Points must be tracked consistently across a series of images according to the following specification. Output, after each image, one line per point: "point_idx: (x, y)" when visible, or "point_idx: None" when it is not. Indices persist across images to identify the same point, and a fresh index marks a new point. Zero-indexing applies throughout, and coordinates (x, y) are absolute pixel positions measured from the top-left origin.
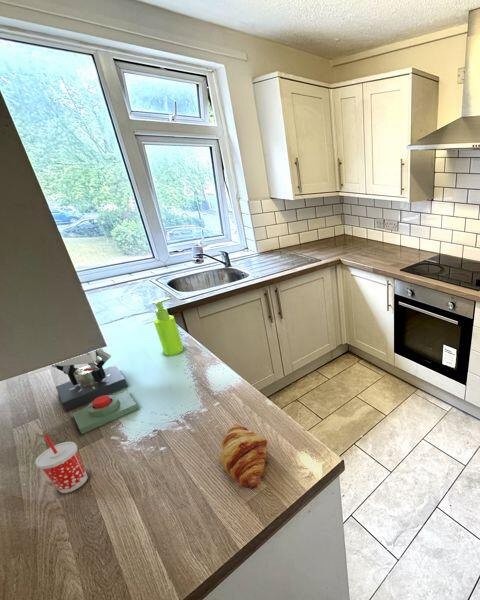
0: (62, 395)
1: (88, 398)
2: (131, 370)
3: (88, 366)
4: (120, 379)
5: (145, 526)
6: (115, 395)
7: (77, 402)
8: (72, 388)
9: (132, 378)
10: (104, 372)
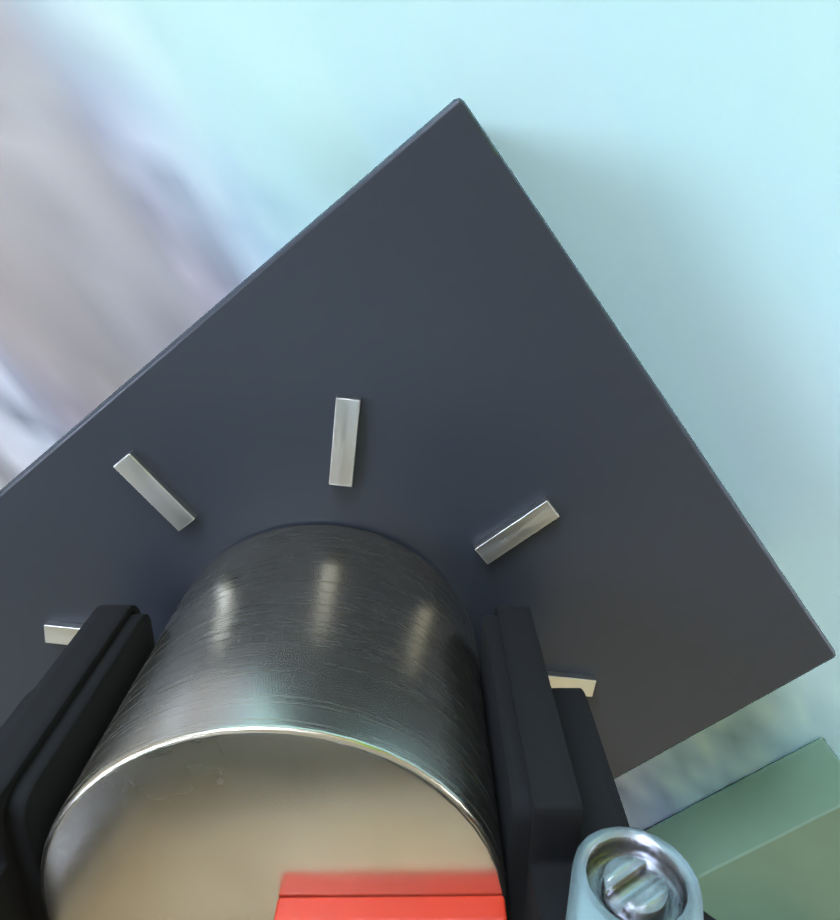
0: None
1: None
2: (667, 90)
3: (259, 795)
4: (780, 673)
5: None
6: (753, 855)
7: None
8: None
9: (762, 376)
10: (594, 731)
